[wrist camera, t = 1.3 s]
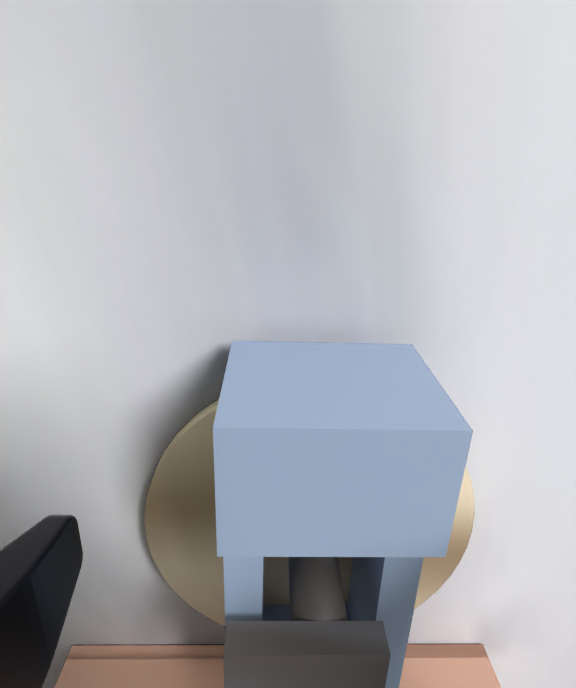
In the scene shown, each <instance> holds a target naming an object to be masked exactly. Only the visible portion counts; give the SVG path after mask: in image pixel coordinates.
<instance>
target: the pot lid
mask: <svg viewBox="0 0 576 688" xmlns="http://www.w3.org/2000/svg"><path fill="white" fill-rule="evenodd" d="M218 402H219V400H217V401H215V402H214V403H212V404H210V405H208V406H207V407H206V408H205V409H203V410H202V411H201V412H199V413H198V414H197V415H195V416H194V417H193V418H192V419H191V420H190V421H189V422H188V423H187V424H186V425H185V426H184V427H183V428H182V429H181V430H180V431H179V432H178V433H177V434H176V435H175V437H174V438H173V440H172V441H171V442H170V444H169V445H168V446H167V448H166V449H165V451H164V453H163V455H162V457H161V459H160V461H159V463H158V465H157V468H156V470H155V473H154V476H153V478H152V481H151V485H150V488H149V491H148V494H147V499H146V505H145V512H144V515H145V533H146V538H147V543H148V547H149V550H150V553H151V555H152V558H153V561H154V563H155V565H156V566H157V568H158V570H159V572H160V573H161V575H162V577H163V578H164V579H165V581H166V582H167V583H168V585H169V586H170V587H171V588H172V590H173V591H174V592H175V593H176V594H177V595H178V596H179V597H180V598H181V599H182V600H183V601H184V602H186V603H187V604H188V605H190V606H191V607H192V608H194V609H195V610H196V611H197V612H199V613H201V614H202V615H204V616H206V617H207V618H209V619H211V620H212V621H214V622H216V623H219V624H221V625H223V626H225V598H224V561H223V557H217V536H216V506H215V476H214V446H213V424H214V420H215V415H216V411H217V406H218ZM473 521H474V494H473V489H472V484H471V480H470V477H469V474H468V472H467V469H466V466H465V470H464V475H463V479H462V484H461V489H460V493H459V498H458V503H457V507H456V512H455V517H454V521H453V526H452V531H451V535H450V540H449V545H448V549H447V554H446V557H424V559H423V564H422V569H421V574H420V580H419V585H418V590H417V595H416V601H415V606H414V609H415V608H416V607H418V606H419V605H421V604H422V603H424V602H425V601H426V600H427V599H428V598H429V597H431V596H432V595H433V594H434V593H435V592H436V591H437V590H438V589H439V588H440V587H441V586H442V585H443V584H444V583H445V581H446V580H447V579H448V578H449V577H450V575H451V574H452V573H453V571H454V570H455V568H456V567H457V565H458V564H459V562H460V560H461V558H462V556H463V554H464V552H465V550H466V548H467V545H468V542H469V539H470V536H471V533H472V527H473ZM352 562H353V557H264V588H263V605H290V620H291V621H227V624H226V634H225V644H224V654H223V663H224V688H385V685H386V679H387V674H388V668H389V662H390V656H391V654H390V650H389V646H388V641H387V637H386V632H385V628H384V624H383V621H348V620H347V614H346V607H345V605H348V597H349V588H350V580H351V571H352Z"/></svg>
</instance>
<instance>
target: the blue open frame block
mask: <svg viewBox="0 0 576 688" xmlns="http://www.w3.org/2000/svg"><path fill="white" fill-rule="evenodd" d="M472 433H473V430H472V429H471V427H470V426H469V425H468V423H467V422H466V420H465V419H464V417H463V416H462V415H461V413H460V412H459V410H458V409H457V407H456V406H455V405H454V403H453V402H452V400H451V399H450V397H449V396H448V395H447V393H446V392H445V390H444V389H443V388H442V386H441V385H440V383H439V382H438V380H437V379H436V378H435V376H434V375H433V373H432V372H431V370H430V369H429V368H428V366H427V365H426V363H425V362H424V360H423V359H422V358H421V356H420V355H419V353H418V352H417V350H416V349H415V348H414V346H413V345H412V344H369V343H320V342H270V341H232V343H231V348H230V352H229V357H228V361H227V366H226V370H225V375H224V379H223V384H222V388H221V393H220V397H219V402H218V406H217V411H216V415H215V420H214V424H213V446H214V476H215V506H216V536H217V557H223V561H224V598H225V634H226V624H227V621H291V620H290V605H263V588H264V557H353V562H352V571H351V580H350V588H349V597H348V605H345V607H346V614H347V620H348V621H383V624H384V628H385V632H386V637H387V641H388V646H389V650H390V654H391V656H390V662H389V668H388V674H387V679H386V685H385V688H399V684H400V679H401V674H402V669H403V663H404V658H405V653H406V648H407V642H408V637H409V632H410V627H411V622H412V616H413V611H414V606H415V601H416V595H417V590H418V585H419V580H420V574H421V569H422V564H423V559H424V557H446V554H447V549H448V545H449V540H450V535H451V531H452V526H453V521H454V517H455V512H456V507H457V503H458V498H459V493H460V489H461V484H462V479H463V475H464V470H465V465H466V461H467V456H468V451H469V447H470V442H471V437H472Z"/></svg>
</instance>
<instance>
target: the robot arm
mask: <svg viewBox="0 0 576 688" xmlns="http://www.w3.org/2000/svg"><path fill="white" fill-rule="evenodd" d="M82 558H83V552H82V545H81V540H80V534H79V528H78V523H77V520H76V518H75V517H74V516H72V515H50V516H47V517H46V518H44V519H43V520H41V521H40V522H39V523H37V524H36V525H35V526H33V527H32V528H30V529H29V530H28V531H26V532H25V533H24V534H22V535H21V536H20V537H18V538H17V539H16V540H14V541H13V542H11V543H10V544H9V545H7V546H6V547H5V548H3V549H2V550H1V551H0V688H42V686H43V683H44V681H45V678H46V676H47V673H48V670H49V668H50V665H51V663H52V660H53V657H54V654H55V650H56V647H57V644H58V641H59V638H60V634H61V631H62V628H63V625H64V621H65V618H66V615H67V611H68V608H69V605H70V602H71V598H72V595H73V592H74V588H75V585H76V582H77V579H78V575H79V572H80V569H81V565H82Z"/></svg>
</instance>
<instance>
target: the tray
mask: <svg viewBox="0 0 576 688" xmlns="http://www.w3.org/2000/svg"><path fill="white" fill-rule="evenodd" d="M223 654H224V645H81V646H71V649H70V651H69V653H68V656H67V658H66V661H65V663H64V666H63V668H62V671H61V673H60V676H59V678H58V680H57V683H56V685H55V688H224V663H223ZM399 688H501V687H500V684H499V682H498V680H497V677H496V675H495V672H494V670H493V668H492V665H491V663H490V661H489V658H488V656H487V653H486V651H485V649H484V646H483V644H407V648H406V653H405V658H404V663H403V669H402V674H401V679H400V684H399Z"/></svg>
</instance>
